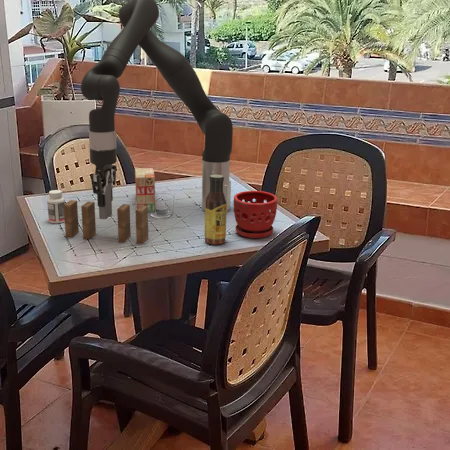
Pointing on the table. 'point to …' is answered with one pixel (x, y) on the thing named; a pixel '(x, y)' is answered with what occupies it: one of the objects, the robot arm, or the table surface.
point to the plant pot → (255, 213)
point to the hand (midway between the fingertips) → (105, 203)
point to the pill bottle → (56, 207)
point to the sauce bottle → (215, 212)
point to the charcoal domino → (107, 210)
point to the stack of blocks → (145, 188)
